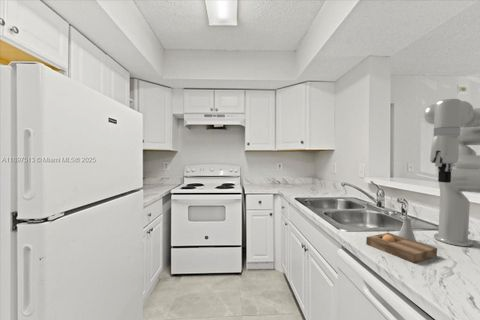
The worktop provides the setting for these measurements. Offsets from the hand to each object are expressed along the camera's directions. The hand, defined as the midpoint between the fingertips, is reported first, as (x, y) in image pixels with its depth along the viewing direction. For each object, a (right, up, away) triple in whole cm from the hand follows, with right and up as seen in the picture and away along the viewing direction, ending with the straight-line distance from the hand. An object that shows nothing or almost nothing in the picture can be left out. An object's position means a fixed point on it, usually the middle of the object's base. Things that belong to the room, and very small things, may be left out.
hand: (444, 182), depth 88 cm
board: (-15, -27, +3) cm, 31 cm away
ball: (-17, -24, +7) cm, 30 cm away
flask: (-5, -27, +13) cm, 30 cm away
